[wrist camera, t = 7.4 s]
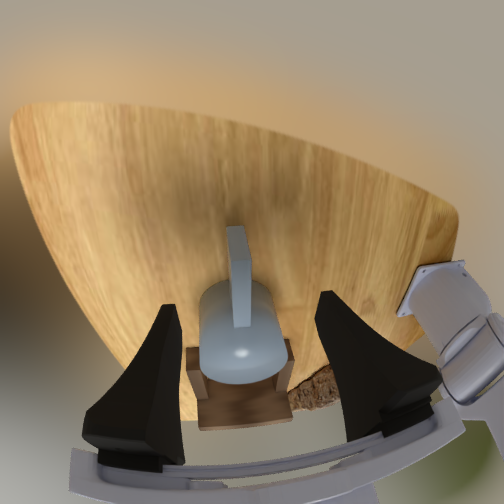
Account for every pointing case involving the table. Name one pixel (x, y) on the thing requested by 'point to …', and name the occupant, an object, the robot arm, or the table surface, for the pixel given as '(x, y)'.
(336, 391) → the rock
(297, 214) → the table surface
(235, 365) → the finned dome knob
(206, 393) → the caddy
